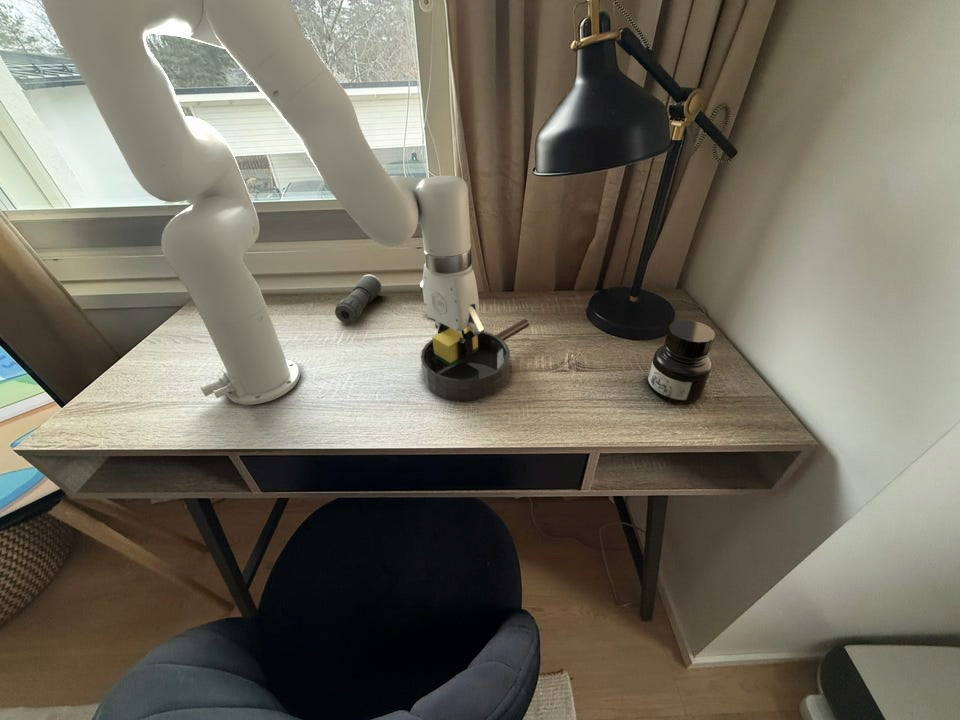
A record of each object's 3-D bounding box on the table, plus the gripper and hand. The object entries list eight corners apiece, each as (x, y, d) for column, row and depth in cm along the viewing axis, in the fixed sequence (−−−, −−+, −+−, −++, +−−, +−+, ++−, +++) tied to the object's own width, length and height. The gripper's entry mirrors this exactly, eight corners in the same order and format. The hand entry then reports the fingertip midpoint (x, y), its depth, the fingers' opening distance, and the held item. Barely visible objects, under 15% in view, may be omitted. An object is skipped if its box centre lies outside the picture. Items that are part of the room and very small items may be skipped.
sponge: (450, 366, 76) (448, 346, 74) (434, 356, 79) (432, 337, 76) (478, 350, 80) (477, 330, 78) (461, 341, 83) (460, 322, 80)
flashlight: (357, 326, 94) (353, 305, 91) (335, 324, 95) (330, 303, 92) (383, 294, 106) (379, 275, 103) (363, 293, 107) (359, 273, 104)
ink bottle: (635, 379, 77) (648, 322, 70) (673, 367, 79) (690, 311, 72) (673, 412, 69) (693, 352, 62) (714, 398, 72) (738, 339, 65)
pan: (464, 414, 70) (462, 394, 68) (405, 373, 80) (402, 354, 77) (527, 371, 79) (528, 352, 77) (467, 339, 89) (466, 321, 86)
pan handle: (498, 346, 82) (498, 338, 81) (492, 342, 83) (492, 335, 82) (529, 328, 87) (529, 320, 86) (522, 325, 88) (522, 317, 87)
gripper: (398, 253, 71) (412, 342, 82) (467, 281, 61) (473, 379, 72) (432, 240, 76) (442, 327, 86) (502, 265, 66) (503, 360, 76)
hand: (456, 350), depth 79 cm, fingers closed on sponge, 4 cm apart
